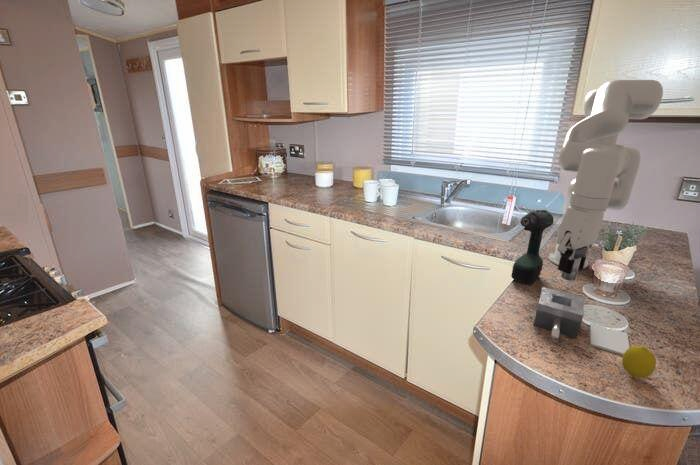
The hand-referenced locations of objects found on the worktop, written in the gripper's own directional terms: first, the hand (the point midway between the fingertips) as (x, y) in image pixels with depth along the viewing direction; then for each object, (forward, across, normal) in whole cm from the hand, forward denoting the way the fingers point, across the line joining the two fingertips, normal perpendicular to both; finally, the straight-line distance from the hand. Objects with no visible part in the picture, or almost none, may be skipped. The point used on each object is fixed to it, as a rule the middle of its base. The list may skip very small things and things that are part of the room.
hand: (570, 268), depth 91 cm
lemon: (+16, +4, +21) cm, 27 cm away
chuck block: (+16, +4, +2) cm, 17 cm away
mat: (+16, -4, +11) cm, 20 cm away
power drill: (+17, -12, -20) cm, 28 cm away
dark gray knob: (+2, 0, 0) cm, 3 cm away
